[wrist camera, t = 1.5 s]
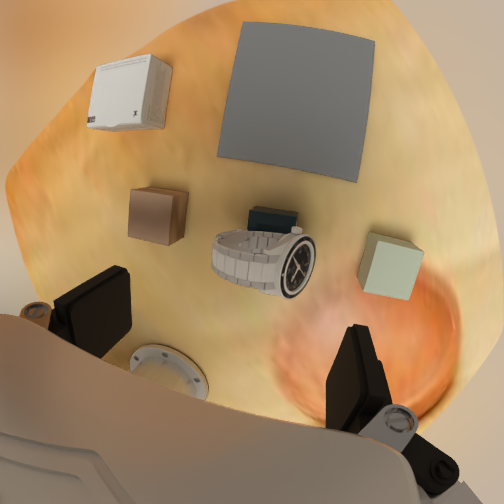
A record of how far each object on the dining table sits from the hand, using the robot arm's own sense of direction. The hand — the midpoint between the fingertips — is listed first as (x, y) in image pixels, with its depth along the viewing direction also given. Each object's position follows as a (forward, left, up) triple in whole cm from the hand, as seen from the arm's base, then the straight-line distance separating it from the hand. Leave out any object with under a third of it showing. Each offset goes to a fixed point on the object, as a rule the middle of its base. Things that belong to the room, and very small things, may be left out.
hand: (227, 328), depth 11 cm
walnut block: (0, +13, -19) cm, 23 cm away
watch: (0, 0, -19) cm, 19 cm away
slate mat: (+15, 0, -19) cm, 24 cm away
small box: (+13, +18, -19) cm, 29 cm away
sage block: (0, -12, -19) cm, 22 cm away
